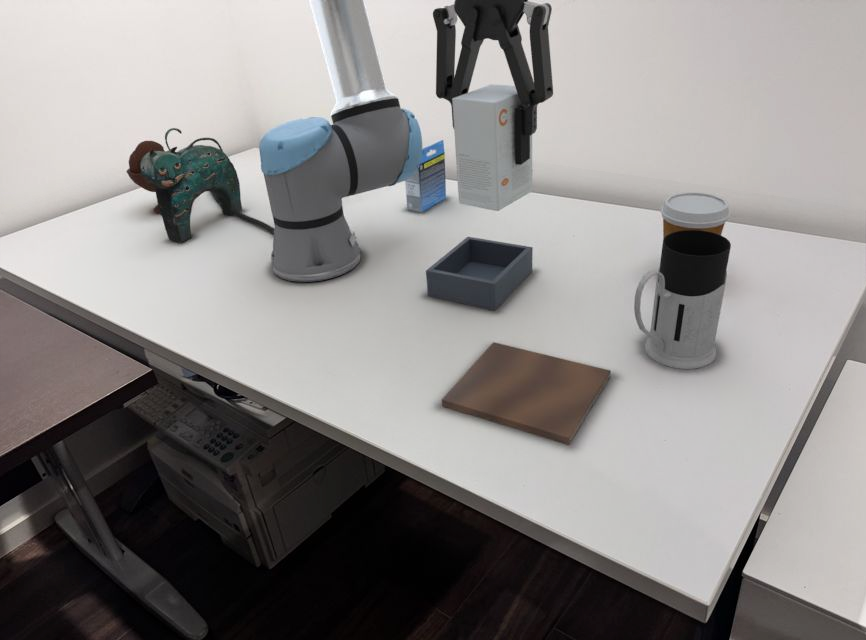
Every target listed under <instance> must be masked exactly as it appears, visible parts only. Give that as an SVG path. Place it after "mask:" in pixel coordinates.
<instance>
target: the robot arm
mask: <svg viewBox="0 0 866 640" xmlns="http://www.w3.org/2000/svg"><path fill="white" fill-rule="evenodd" d="M308 1H309V5H310V9H311V13H312V16H313V20H314V23H315V27H316V31H317V35H318V39H319V42H320V45H321V49H322V53H323V57H324V60H325V63H326V68H327V72H328V76H329V80H330V83H331V87H332V90H333V94H334V98H335V104H334V107H333V109H332V110H331V112H330V118H331V121H332V124H331V123H330V121H329V120H328V119H326V118H324V117H322V116H321V117H319V116H309V117H307V118H298V119H294V120H291V121H286V122H284V123H281V124H279V125H277V126H275V127H273V128H271V129H270V130H268V131H267V132H266V133H265V134H264V135H263V136H262V137H261V139H260V140H259V145H258V146H259V147H258V150H259V158H260V170H261V172H262V174H263V179H264V183H265V187H266V192H267V196H268V201H269V206H270V211H271V215H272V219H273V225H274V227H273V226H272V225H270V224H267V223H265V222H264V221H261V220H259V219H257V218H254V217H252V216H249V215H246V214H244V213H242V212H238V211H236V210H233V211H232V213H233V214H234V215H233V216H236V217H237V218H240V219H242V220H243V221H246V222H248V223H252V224H253V225H256V226H259V227H261V228H262V229H264V230H266V231H267V232H269V233H271V234H273V239H272V252H271V255H270V262H271V267H272V271H273V273H274V274H275V276H277V277H278V278H280V279H282V280H285V281H290V282H295V283H312V282H313V283H314V282H321V281H326V280H330V279H334V278H337V277H340V276H343V275H345V274H347V273H348V272H350V271H352V270H353V269H354V268H356V267H357V266H358V265H359V263H360V261H361V259H362V258H361V250H360V246H359V243H358V241H357V239H358V237H357V235H356V233H355V232H354V231H352V230H351V228H350V226H349V223H348V222H347V220H346V218H345V215H344V207H343V200H342V199H344V198H347V197H351V196H355V195H359V194H363V193H368V192H370V191H375V190H379V189H382V188H385V187H392V186H393V187H394V186H396V185H397V184H399V183H403V182H405V180H408V179H410V178H411V177H413V176H414V175H415V173H416V172H417V170H418V168H419V165H420V162H421V157H422V149H423V138H422V137H423V136H422V131H421V127H420V124H419V121H418V119H417V118H416V116H415V114H414V113H413V112H412V111H411V110H410V109H406V108H401V104H400V99H399V97H398V96H397V95H396V94H394V93H393V92H391V91H390V90H389V89H388V88H387V86H386V82H385V77H384V73H383V69H382V66H381V62H380V57H379V53H378V50H377V46H376V41H375V37H374V33H373V30H372V25H371V22H370V17H369V13H368V8H367V5H366V1H365V0H308ZM552 9H553V8H552V5H551V4H550V3H549V2H545V3H542V4H540V3H537V2H534V1H529V0H454V2H453V4H451V5H444V6H441V7H438V8H435V9H434V10H433V11H432V17H433V21H434V25H435V29H436V66H435V68H436V69H435V95H436V97H437V98H438V99H443V100H446V101H448V102H449V103H450V107H451V118H452V119H451V121H452V127H453V129H454V118H453V102H452V98H455V97H458V96H461V95H463V94H466V93H469V92H470V86H471V83H472V79H473V76H474V71H475V67H476V65H477V60H478V57H479V54H480V49H481V46H482V45H483V43H484V41H485V40H486V39H489V40H492V41H497V42H498V45H499V47H500V49H502V51H503V54H504V56H505V57H504V58H505V60H506V63H507V66H508V69H509V73H510V75H511V78H512V81H513V84H514V86H515V87H516V90H517V93H518V96H519V100H520V103H521V105H519V106H518V107H517V108H515V164H518V165H522V164H523V163H524V162H526V161H527V160H528V159H530V135H532V136H533V135H534V134H535V133H536V132H537V129H538V105H539V104H540V103H541V104H542V103H545V102H546V101H547V100H549V99H551V98H552V97H553V96H554V85H553V71H552V70H553V69H552V61H551V48H550V36H549V35H550V34H549V24H550V20H551V15H552V11H553V10H552ZM524 15H525V16H526V23H527V24H528V25H529V42H530V43H529V44H530V55H531V64H532V72H531V69H530V66H529V63H528V59H527V57H526V53H525V50H524V47H523V43H522V42H523V38H522V34H521V30H520V27H519V24H520V21H521V19H522V17H524ZM458 18H459V20H460V22H461V23H462V25H463V26H464V29H463V33H462V37H461V42H460V45H461V50H460V52H459V57H458V61H457V65H456V41H457V39H456V38H457V29H456V24H457V22H458ZM455 66H456V67H455ZM210 193H211V195H212V197H213V198H214V199H215V201H216V202H217V203H218V204H219V205H220V203H219V201H218V198H217V196H216V195H215V194H214V193H213V192H210Z"/></svg>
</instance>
